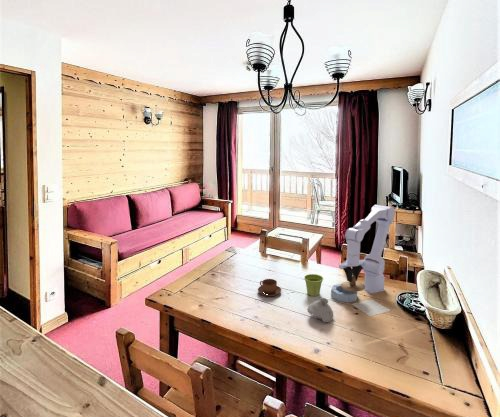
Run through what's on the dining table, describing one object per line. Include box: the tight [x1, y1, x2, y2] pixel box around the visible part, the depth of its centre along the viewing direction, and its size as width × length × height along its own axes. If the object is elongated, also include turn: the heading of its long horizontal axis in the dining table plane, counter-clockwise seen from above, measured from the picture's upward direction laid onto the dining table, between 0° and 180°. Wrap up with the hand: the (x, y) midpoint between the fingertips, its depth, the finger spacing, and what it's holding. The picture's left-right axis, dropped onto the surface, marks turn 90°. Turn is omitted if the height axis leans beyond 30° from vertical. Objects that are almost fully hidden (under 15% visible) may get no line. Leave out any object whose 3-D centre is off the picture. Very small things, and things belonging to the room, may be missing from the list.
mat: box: [351, 299, 392, 317], centre depth 146 cm, size 12×12×1 cm
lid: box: [340, 274, 365, 292], centre depth 152 cm, size 11×11×6 cm
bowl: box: [330, 283, 359, 303], centre depth 157 cm, size 12×12×4 cm
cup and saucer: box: [257, 278, 282, 297], centre depth 163 cm, size 12×12×6 cm
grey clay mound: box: [306, 297, 334, 323], centre depth 138 cm, size 12×12×11 cm
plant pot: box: [303, 273, 324, 297], centre depth 161 cm, size 9×9×9 cm
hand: (352, 280), depth 153 cm, fingers closed on lid, 3 cm apart
